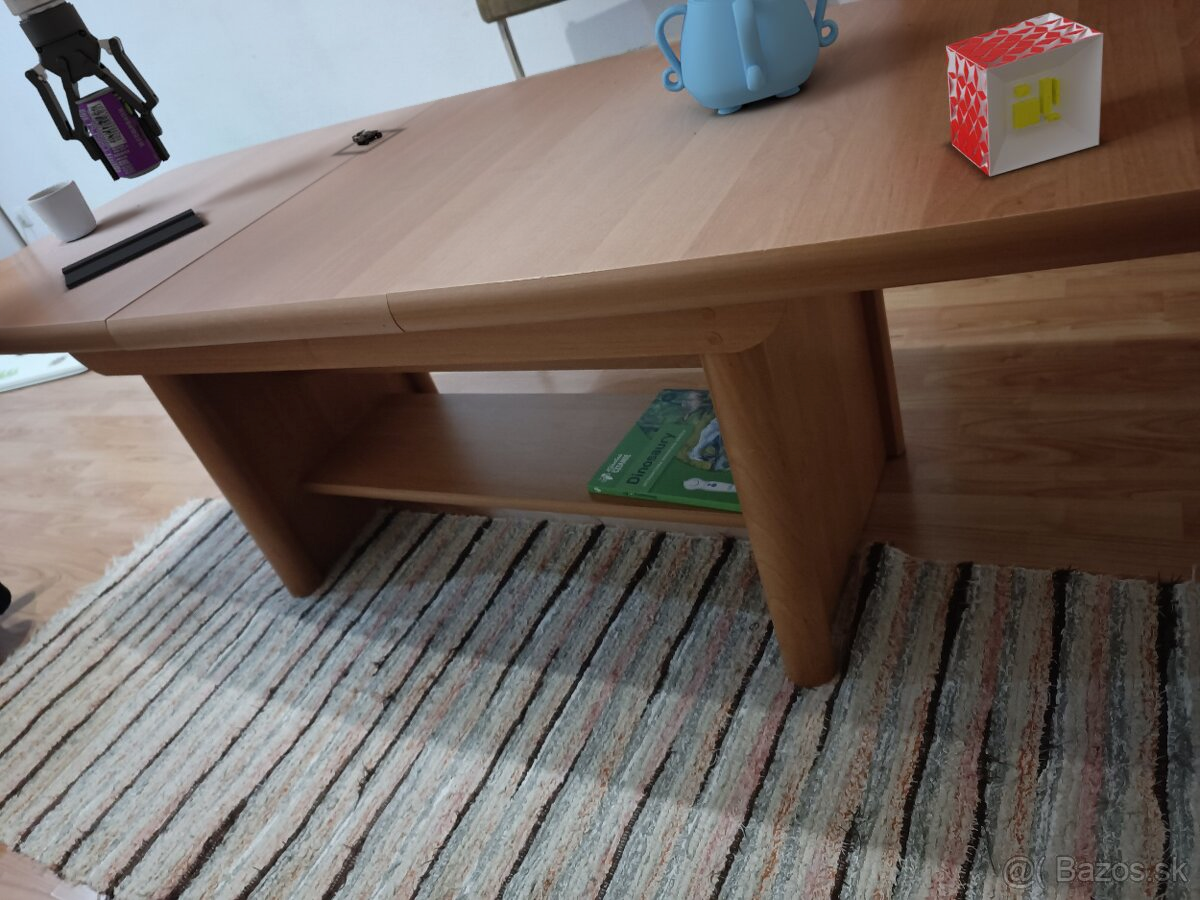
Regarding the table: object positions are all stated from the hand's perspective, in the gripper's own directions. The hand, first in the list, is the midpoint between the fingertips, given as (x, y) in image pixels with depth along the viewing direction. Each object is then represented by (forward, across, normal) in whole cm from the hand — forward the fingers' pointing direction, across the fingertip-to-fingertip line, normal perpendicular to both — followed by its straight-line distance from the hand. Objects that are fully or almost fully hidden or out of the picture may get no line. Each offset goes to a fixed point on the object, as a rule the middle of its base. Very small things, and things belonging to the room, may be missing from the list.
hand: (142, 168), depth 132 cm
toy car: (+8, -33, +3) cm, 34 cm away
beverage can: (+1, 0, 0) cm, 1 cm away
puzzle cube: (+8, -83, +90) cm, 123 cm away
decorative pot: (+8, -77, +53) cm, 94 cm away
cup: (+8, +18, -14) cm, 24 cm away
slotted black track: (+8, +4, +12) cm, 15 cm away
